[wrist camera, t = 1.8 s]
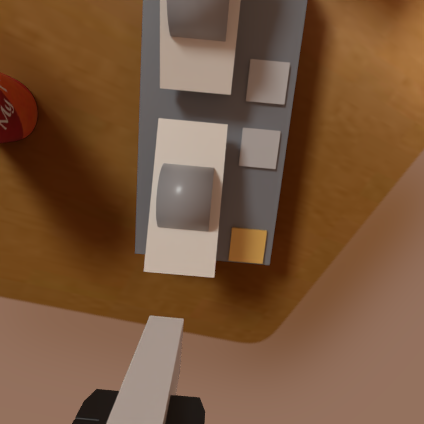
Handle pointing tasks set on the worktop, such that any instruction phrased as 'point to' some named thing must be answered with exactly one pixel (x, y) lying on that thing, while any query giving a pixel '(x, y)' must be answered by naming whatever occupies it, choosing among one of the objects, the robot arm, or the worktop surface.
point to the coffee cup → (16, 110)
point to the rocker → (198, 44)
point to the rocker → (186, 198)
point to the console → (231, 123)
